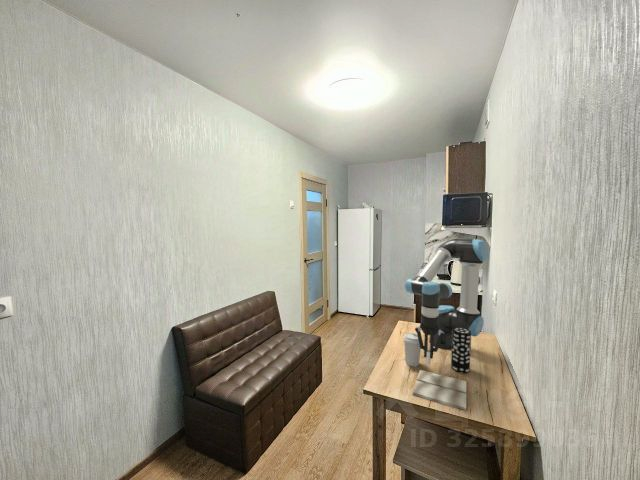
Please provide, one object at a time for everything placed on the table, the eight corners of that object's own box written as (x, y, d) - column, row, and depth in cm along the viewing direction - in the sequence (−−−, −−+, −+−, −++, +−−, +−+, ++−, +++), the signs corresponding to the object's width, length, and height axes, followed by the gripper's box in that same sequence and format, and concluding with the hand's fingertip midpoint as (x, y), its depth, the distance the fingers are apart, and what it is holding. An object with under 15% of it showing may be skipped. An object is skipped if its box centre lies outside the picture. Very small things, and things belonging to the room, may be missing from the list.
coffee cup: (423, 369, 135) (424, 340, 134) (403, 367, 137) (404, 338, 136) (420, 360, 144) (421, 332, 144) (401, 358, 146) (402, 331, 145)
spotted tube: (452, 372, 133) (453, 332, 132) (450, 364, 141) (451, 326, 140) (471, 375, 130) (472, 334, 129) (468, 367, 138) (469, 328, 137)
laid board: (466, 395, 114) (466, 393, 114) (466, 410, 105) (466, 407, 105) (416, 382, 123) (416, 379, 123) (412, 394, 114) (412, 392, 114)
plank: (466, 383, 122) (466, 381, 122) (466, 395, 114) (466, 392, 114) (419, 372, 132) (419, 369, 132) (416, 381, 124) (416, 379, 124)
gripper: (445, 315, 127) (443, 364, 128) (416, 310, 133) (415, 357, 134) (444, 320, 120) (442, 371, 121) (414, 315, 126) (412, 364, 127)
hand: (428, 364), depth 128 cm, fingers closed
